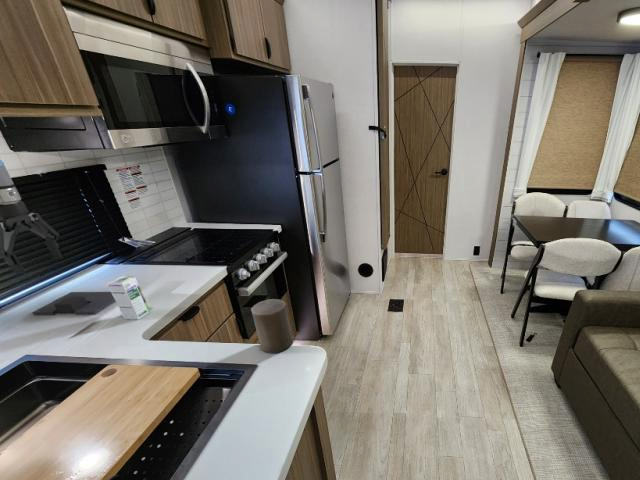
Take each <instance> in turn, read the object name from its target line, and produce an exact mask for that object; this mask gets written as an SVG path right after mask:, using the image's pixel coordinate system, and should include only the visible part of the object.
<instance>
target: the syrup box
mask: <svg viewBox="0 0 640 480" xmlns="http://www.w3.org/2000/svg"><path fill="white" fill-rule="evenodd" d="M106 285H107V287H108V289H109V292H111V293H112V295H113V297H114V299H115V301H116V302H115V303H116V305H117V307H118V309H119V311H120V313H121V316H122V317H123V319H124V320H140V319H141V318H143V317H144V316H146V315H148V314H149V313H151V310H150V307H149V305H148V303H147V301H146V298H145V296H144V293H143V292H142V290H141V287H140V285H139V283H138V280H137V278H136V277H135V276H130V275H129V276H128V275H127V276H125V275H124V276H123V275H122V276H119V277H118V278H115V279H114V280H112V281H109V282H107V283H106Z"/></svg>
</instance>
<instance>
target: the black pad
mask: <svg viewBox="0 0 640 480" xmlns="http://www.w3.org/2000/svg"><path fill="white" fill-rule="evenodd" d="M87 304H88V302H87V300H86V299H85V297H67V298H66V299H64V300H62V301H60V302H58V303H56V304H54V305H55V307H56V309H57V311H58V314H65V315H67V314H68V315H69V314H72V315H73V314H74V315H75V311H77V310H78V309H80V308H82V307H83V306H85V305H87Z"/></svg>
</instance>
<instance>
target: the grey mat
mask: <svg viewBox="0 0 640 480" xmlns="http://www.w3.org/2000/svg"><path fill="white" fill-rule="evenodd" d="M67 297H85V299H86V300H87V302H88V304H87V305H85V306H83V307H82V308H80V309H78V310H77V311H75V313H74V315H75V316H94V315H97V314H98V313H100V312H102V311H103V310H105V309H107V308H109V307H110V306H111V305H113V304H114V303H116V301H115V299H114V297H113V295H112V293H111V291H71V292H68V293H66V294H64V295H63V296H61V297H59V298H57V299H55V300H53V301H51V302H49V303H48V304H46V305H44V306H41V307H40V308H38V309H36V310H34V311H32V314H33V316H55V315H57V314H59V312H58V311H57V309H56V307H55V305H54V304H56V303H58V302H60V301H62V300H64V299H66V298H67Z"/></svg>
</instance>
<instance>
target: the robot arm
mask: <svg viewBox="0 0 640 480" xmlns="http://www.w3.org/2000/svg"><path fill="white" fill-rule="evenodd" d="M21 200H22V197H21V195H20V192H19V191H18V189H17V187H16V185H15V183H14V182H13V179H12V177H11V176H10V173H9V171H8V170H7V167H6V166H5V162H4V161H2V159H1V158H0V257H2V258H3V260H4V262H5V263H6V265H8V266H10V267H11V270H12V271H13V273H14V274H15V275H25V274H26V273H27V272H26V270H25V269H24V267H23V265H22V263H21V262H20V260H19V258H18V256H17V254H15V253H13V250H14V245H15V241H16V238H17V236H18V235H19V234H22V233H24V232H29V231H30V232H32V233H34V234H35V235H37V236H39V237H41V238H42V239H45V240H44V243H45V245H46V247H47V249H48V251H49V253H50V255H51V257H52V259H54V260H59V259H61V260H62V259H63V258H64V257H63V255H62V253H61V251H60V249H59V248H60V246H59V244H58V242H57V241H58V240H59V237H60V233H58V231H56V230H55V229H54V228H53V227H52V226H51V225H50V224H48V222H46V221H45V220H44V219H43V218H42V216H41V215H40V213H38V212H29V210H28V207H27V206H26V203H24V201H21Z"/></svg>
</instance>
